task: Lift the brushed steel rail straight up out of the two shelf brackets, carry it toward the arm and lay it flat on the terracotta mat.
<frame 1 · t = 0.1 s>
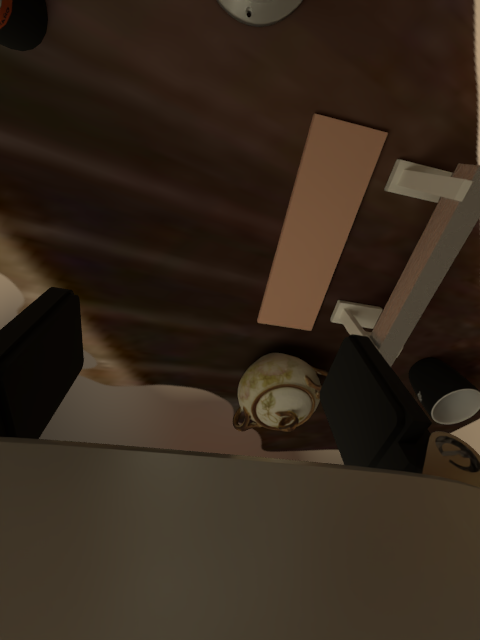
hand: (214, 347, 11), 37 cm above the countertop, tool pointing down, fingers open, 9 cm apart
sugar bowl: (274, 368, 59), on the countertop
steel rail: (412, 276, 40), point 9 cm above the countertop, touching shelf brackets
shelf brackets: (381, 254, 48), on the countertop
mug: (426, 373, 62), on the countertop
terracotta mat: (311, 240, 46), on the countertop
wine bottle: (10, 4, 32), on the countertop
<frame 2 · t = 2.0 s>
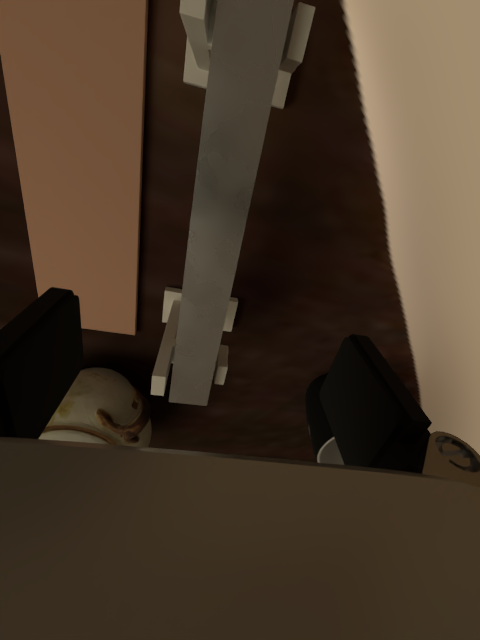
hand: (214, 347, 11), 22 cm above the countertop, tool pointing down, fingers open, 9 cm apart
sugar bowl: (104, 389, 40), on the countertop
steel rail: (214, 237, 21), point 9 cm above the countertop, touching shelf brackets
shelf brackets: (215, 210, 29), on the countertop
mug: (333, 393, 43), on the countertop
terracotta mat: (84, 182, 27), on the countertop
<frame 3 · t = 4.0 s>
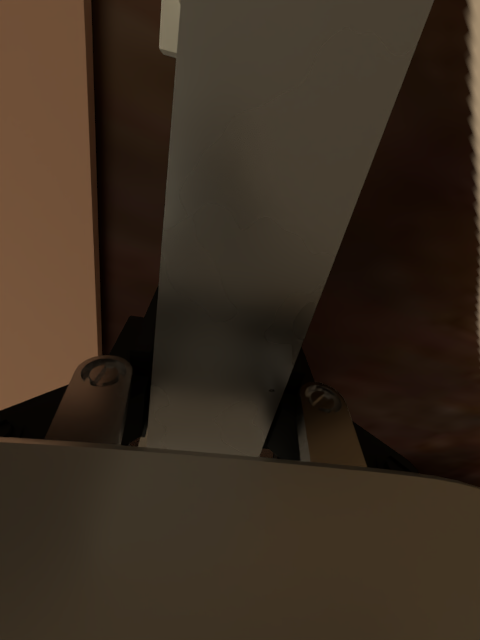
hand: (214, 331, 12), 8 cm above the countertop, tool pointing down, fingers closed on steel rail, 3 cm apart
steel rail: (214, 349, 11), point 9 cm above the countertop, touching gripper, shelf brackets
shelf brackets: (218, 261, 18), on the countertop
terracotta mat: (4, 222, 17), on the countertop
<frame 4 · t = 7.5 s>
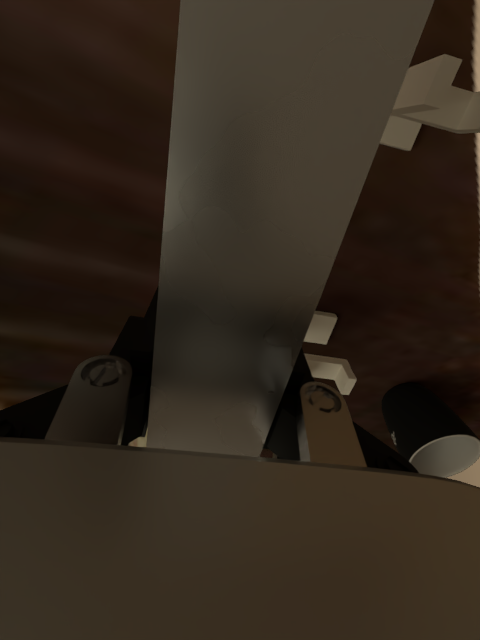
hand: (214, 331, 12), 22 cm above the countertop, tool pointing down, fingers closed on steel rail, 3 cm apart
steel rail: (213, 350, 11), point 23 cm above the countertop, touching gripper
shelf brackets: (330, 236, 32), on the countertop
mug: (406, 401, 46), on the countertop
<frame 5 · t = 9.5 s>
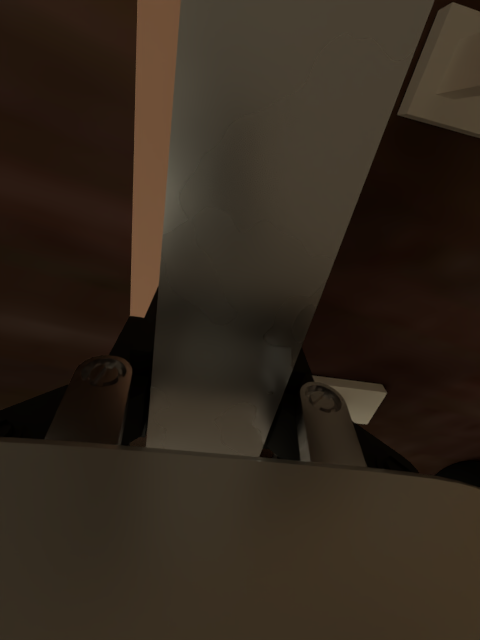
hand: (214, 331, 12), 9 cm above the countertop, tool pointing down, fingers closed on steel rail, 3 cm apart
steel rail: (213, 351, 11), point 10 cm above the countertop, touching gripper
shelf brackets: (387, 283, 21), on the countertop
mug: (462, 480, 35), on the countertop
terracotta mat: (216, 251, 19), on the countertop
when the fingers open (2 cm above the countertop, at t = 11.2 s): steel rail drops 2 cm, resting on terracotta mat.
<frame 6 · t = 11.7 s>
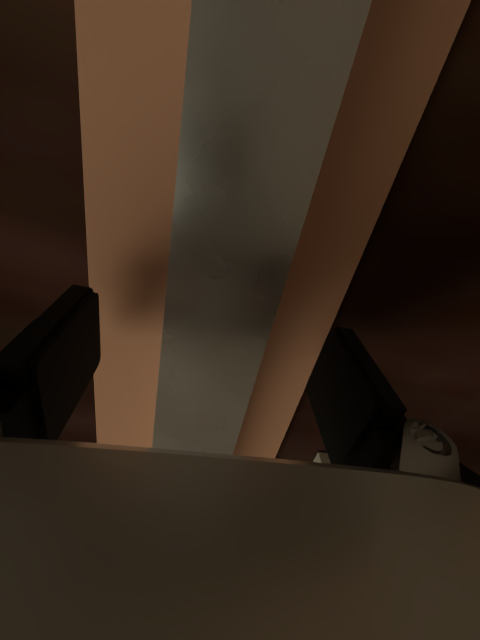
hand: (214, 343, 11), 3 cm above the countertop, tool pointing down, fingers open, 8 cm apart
steel rail: (213, 316, 12), point 1 cm above the countertop, touching terracotta mat
terracotta mat: (216, 308, 13), on the countertop
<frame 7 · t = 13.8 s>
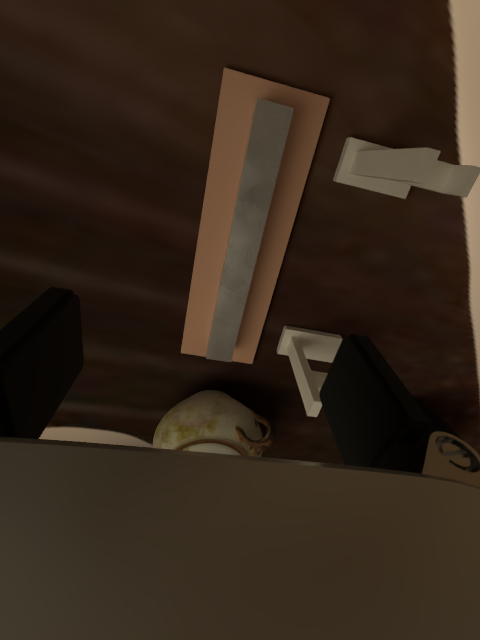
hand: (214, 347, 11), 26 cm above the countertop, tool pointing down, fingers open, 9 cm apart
sugar bowl: (211, 408, 47), on the countertop
steel rail: (240, 249, 34), point 1 cm above the countertop, touching terracotta mat
shelf brackets: (336, 267, 36), on the countertop
mug: (406, 416, 49), on the countertop
terracotta mat: (241, 247, 35), on the countertop
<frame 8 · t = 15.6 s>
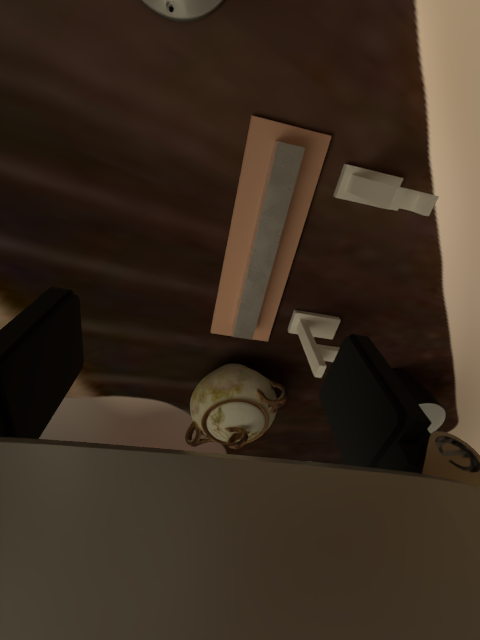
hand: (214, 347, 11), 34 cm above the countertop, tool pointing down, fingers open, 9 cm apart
sugar bowl: (233, 379, 57), on the countertop
steel rail: (260, 249, 43), point 1 cm above the countertop, touching terracotta mat
shelf brackets: (336, 263, 46), on the countertop
mug: (393, 384, 60), on the countertop
terracotta mat: (260, 248, 44), on the countertop
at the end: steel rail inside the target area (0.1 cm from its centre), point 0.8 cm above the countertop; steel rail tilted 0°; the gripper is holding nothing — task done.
